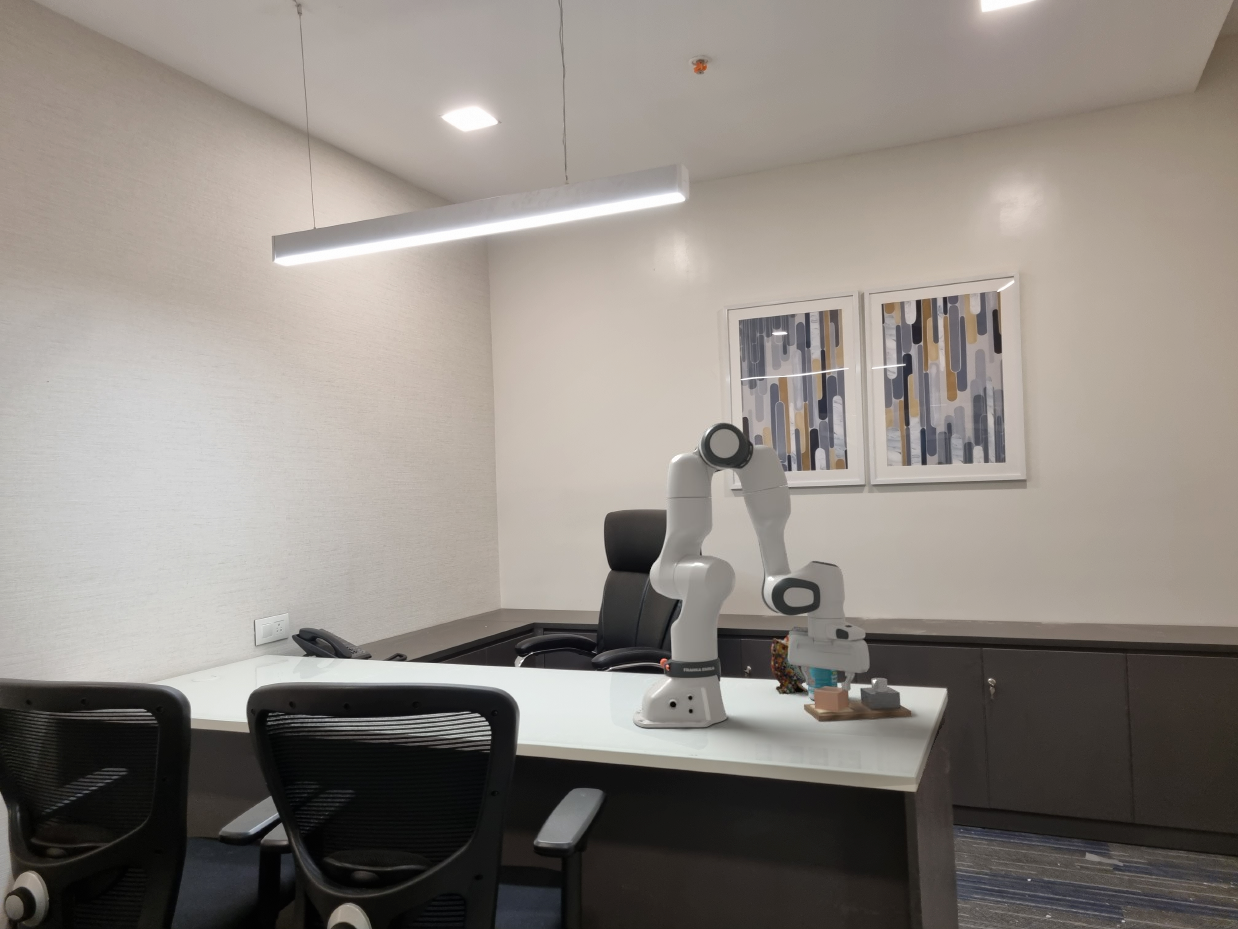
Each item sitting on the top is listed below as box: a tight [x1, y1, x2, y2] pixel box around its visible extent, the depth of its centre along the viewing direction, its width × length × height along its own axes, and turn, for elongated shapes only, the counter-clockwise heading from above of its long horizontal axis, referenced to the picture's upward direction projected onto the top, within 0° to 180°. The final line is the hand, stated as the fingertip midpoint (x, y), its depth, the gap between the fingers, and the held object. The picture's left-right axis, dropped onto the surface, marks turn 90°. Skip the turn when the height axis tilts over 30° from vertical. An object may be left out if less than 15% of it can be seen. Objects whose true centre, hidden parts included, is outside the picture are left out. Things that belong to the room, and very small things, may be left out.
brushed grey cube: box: [859, 677, 901, 710], centre depth 200 cm, size 7×7×6 cm
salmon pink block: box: [813, 686, 850, 711], centre depth 199 cm, size 6×6×4 cm
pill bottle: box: [807, 667, 839, 701], centre depth 215 cm, size 8×7×14 cm
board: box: [803, 700, 912, 722], centre depth 199 cm, size 22×12×2 cm, turn 94°
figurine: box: [770, 634, 808, 695], centre depth 226 cm, size 9×9×15 cm
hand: (827, 687), depth 199 cm, fingers open, 8 cm apart
